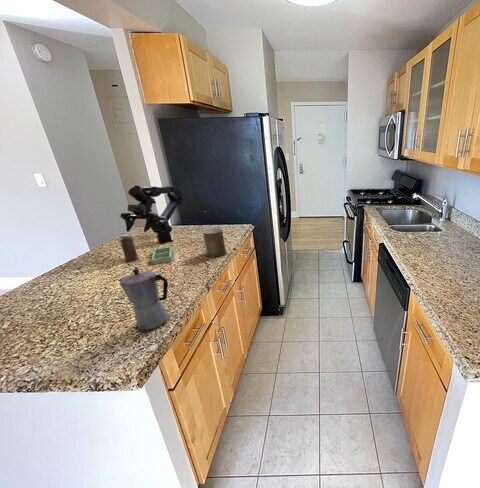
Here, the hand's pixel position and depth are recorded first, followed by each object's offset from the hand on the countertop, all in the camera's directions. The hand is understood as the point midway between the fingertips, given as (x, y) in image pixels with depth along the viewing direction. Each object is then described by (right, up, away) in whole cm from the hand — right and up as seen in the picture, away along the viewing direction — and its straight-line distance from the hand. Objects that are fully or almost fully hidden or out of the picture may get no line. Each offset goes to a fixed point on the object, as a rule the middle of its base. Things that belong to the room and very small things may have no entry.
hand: (136, 231), depth 136 cm
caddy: (+14, -14, +1) cm, 20 cm away
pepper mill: (0, -15, -2) cm, 15 cm away
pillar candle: (+40, -12, +6) cm, 42 cm away
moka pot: (+41, -33, -47) cm, 71 cm away
